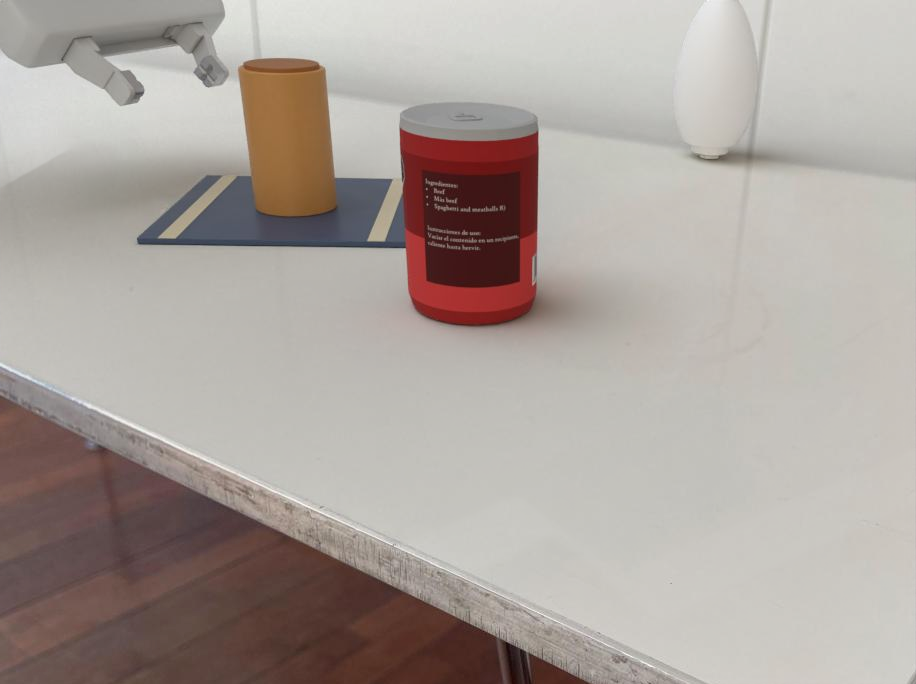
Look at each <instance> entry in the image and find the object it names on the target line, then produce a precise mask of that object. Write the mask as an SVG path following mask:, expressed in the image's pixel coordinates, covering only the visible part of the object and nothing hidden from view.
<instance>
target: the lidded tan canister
mask: <svg viewBox="0 0 916 684" xmlns="http://www.w3.org/2000/svg"><path fill="white" fill-rule="evenodd" d="M237 72H238V73H237V74H238V79H239V90H240V98H241V103H242V104H241V105H242V111H243V120H244V128H245V136H246V137H245V138H246V145H247V153H248V160H249V168H250V176H251V177H252V185H253V193H254V201H255V208H256V209H257V210H258V211H259V212H261V213H264V214H268V215H273V216H282V217H302V216H312V215H318V214H323V213H326V212H329V211H331V210H333V209H335V208H336V207H337V197H336V185H335V178H336V175H335V164H334V151H333V140H332V139H333V138H332V129H331V117H330V107H329V94H328V83H327V72H326V67H325V66H323V65H320V63H319V62H318V61H315V60H312V59H306V58H294V57H267V58H266V57H265V58H256V59H250V60H246V61H243V64H242V65H240V66H238V67H237Z"/></svg>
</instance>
